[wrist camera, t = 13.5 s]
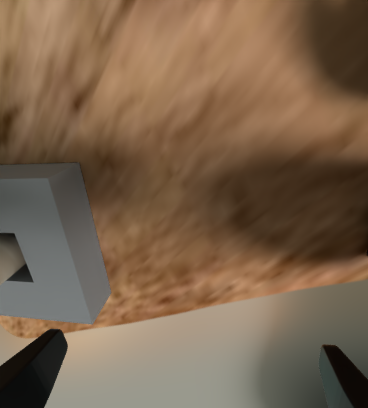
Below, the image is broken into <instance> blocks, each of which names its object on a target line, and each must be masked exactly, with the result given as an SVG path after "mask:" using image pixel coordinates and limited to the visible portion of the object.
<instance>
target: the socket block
mask: <svg viewBox="0 0 368 408" xmlns="http://www.w3.org/2000/svg"><path fill="white" fill-rule="evenodd" d="M0 233H14V234H15V236H16V239H17V241H18V244H19V246H20V249H21V251H22V254H23V256H24V259H25V261H26V264H25V265H23V266H22V267H21V268H20V269H19V270H18V271H16V272H15V273H14V274H13V275H12V276H11V277H9V278H8V279H7V280H6V281H5V282H4V283H2V284H1V285H0V315H4V316H14V317H24V318H34V319H44V320H54V321H64V322H73V323H83V324H93V323H94V321H95V319H96V318H97V316H98V314H99V313H100V311H101V309H102V308H103V306H104V304H105V302H106V301H107V299H108V297H109V296H110V294H111V289H110V285H109V281H108V277H107V273H106V269H105V265H104V261H103V257H102V253H101V249H100V245H99V241H98V237H97V233H96V229H95V225H94V221H93V217H92V213H91V209H90V205H89V200H88V196H87V192H86V188H85V184H84V180H83V176H82V172H81V168H80V164H79V163H47V164H13V165H0Z"/></svg>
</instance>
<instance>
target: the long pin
mask: <svg viewBox="0 0 368 408" xmlns="http://www.w3.org/2000/svg"><path fill="white" fill-rule="evenodd" d="M25 264H26V261H25V259H24V256H23V254H22V251H21V249H20V246H19V244H18V241H17V239H16V236H15V234H14V233H0V285H1V284H2V283H4V282H5V281H6V280H7V279H8V278H9V277H11V276H12V275H13V274H14V273H15V272H16V271H18V270H19V269H20V268H21V267H22V266H23V265H25Z"/></svg>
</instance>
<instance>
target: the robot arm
mask: <svg viewBox="0 0 368 408" xmlns="http://www.w3.org/2000/svg"><path fill="white" fill-rule="evenodd" d="M367 256H368V250H367ZM67 347H68V345H67V341H66V339H65V337H64V334H63V332H62V330H60V329H50V330H48V331H46V332H45V333H44V334H42V335H41V336H40V337H38V338H37V339H36V340H34V341H33V342H32V343H30V344H29V345H28V346H26V347H25V348H24V349H22V350H21V351H20V352H18V353H17V354H16V355H14V356H13V357H12V358H10V359H9V360H8V361H6V362H5V363H4V364H3V365H1V366H0V408H44V407H45V404H46V402H47V400H48V398H49V396H50V393H51V391H52V389H53V386H54V383H55V381H56V378H57V375H58V373H59V370H60V368H61V365H62V362H63V360H64V357H65V355H66V352H67ZM319 369H320V373H321V378H322V382H323V386H324V391H325V395H326V400H327V404H328V408H368V379H367V378H366V377H365V376H364V375H363V374H362V373H361V372H360V370H359V369H358V368H357V367H356V366H355V365H354V364H353V363H352V362H351V361H350V360H349V359H348V357H347V356H346V355H345V354H344V353H343V352H342V351H341V350H340V349H339V348H338V347H337V346H335V345H322V346H321V351H320V357H319Z"/></svg>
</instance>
